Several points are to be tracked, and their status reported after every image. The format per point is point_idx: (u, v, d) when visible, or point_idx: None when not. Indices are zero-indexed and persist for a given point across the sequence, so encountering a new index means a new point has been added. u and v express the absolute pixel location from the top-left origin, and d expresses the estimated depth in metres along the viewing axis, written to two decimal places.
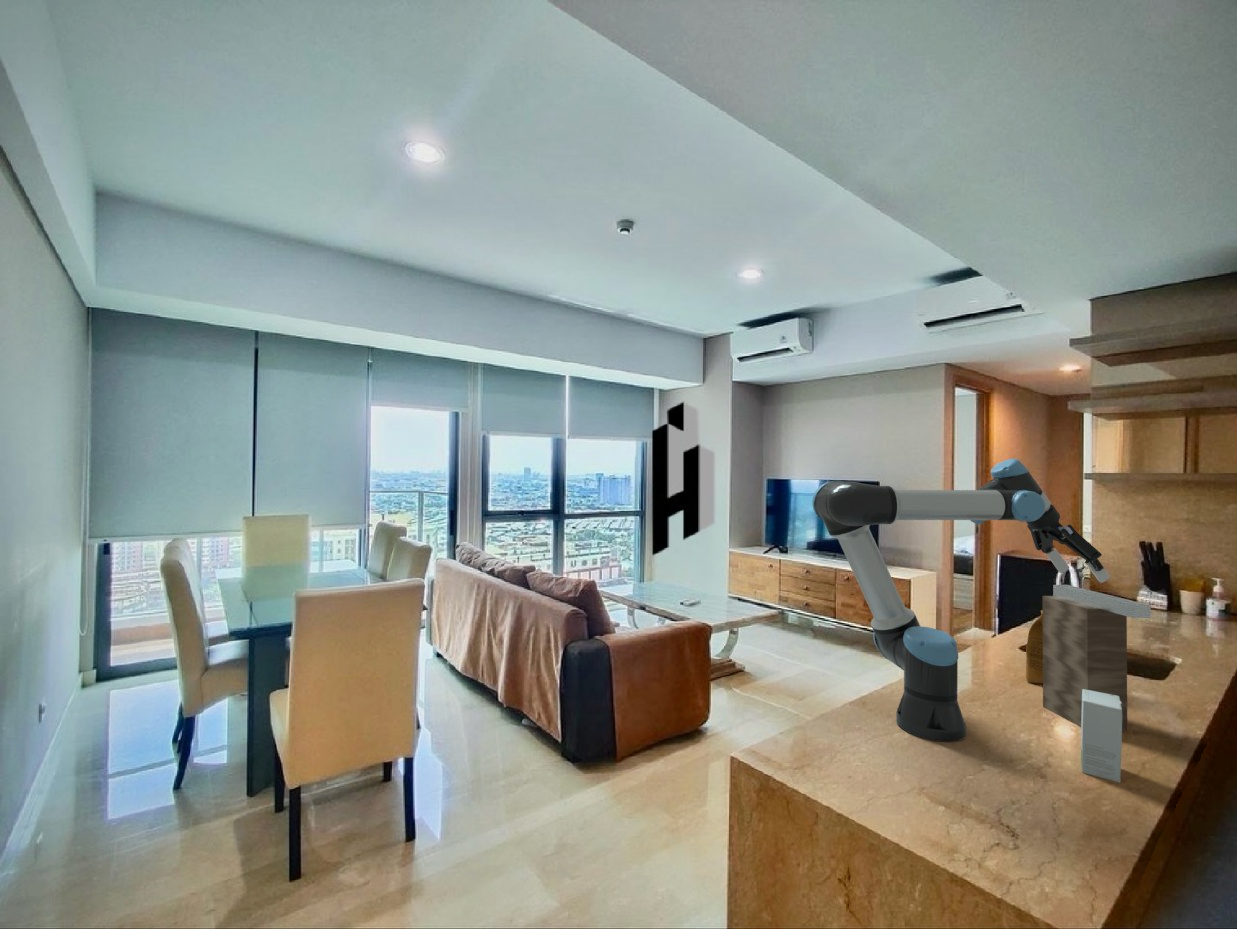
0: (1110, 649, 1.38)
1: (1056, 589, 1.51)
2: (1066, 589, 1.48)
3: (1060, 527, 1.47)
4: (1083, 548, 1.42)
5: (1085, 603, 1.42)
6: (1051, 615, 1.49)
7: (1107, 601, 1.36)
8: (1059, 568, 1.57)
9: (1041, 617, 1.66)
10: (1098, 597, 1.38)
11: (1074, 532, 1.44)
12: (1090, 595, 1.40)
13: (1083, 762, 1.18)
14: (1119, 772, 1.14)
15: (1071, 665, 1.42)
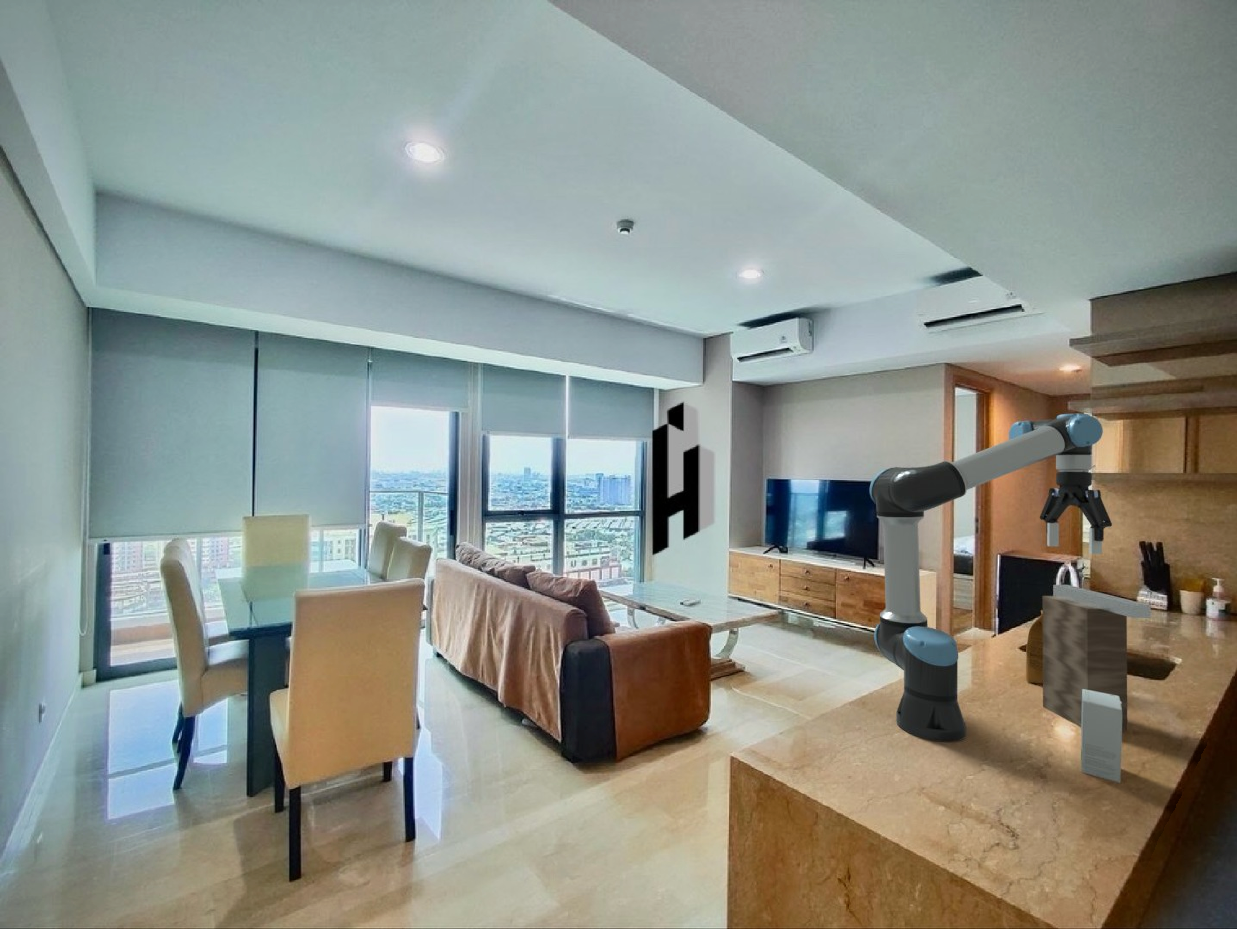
0: (1110, 649, 1.38)
1: (1056, 589, 1.51)
2: (1066, 589, 1.48)
3: (1087, 490, 1.47)
4: (1099, 512, 1.42)
5: (1085, 603, 1.42)
6: (1051, 615, 1.49)
7: (1107, 601, 1.36)
8: (1050, 541, 1.57)
9: (1041, 617, 1.66)
10: (1098, 597, 1.38)
11: (1099, 497, 1.44)
12: (1090, 595, 1.40)
13: (1083, 762, 1.18)
14: (1119, 772, 1.14)
15: (1071, 665, 1.42)
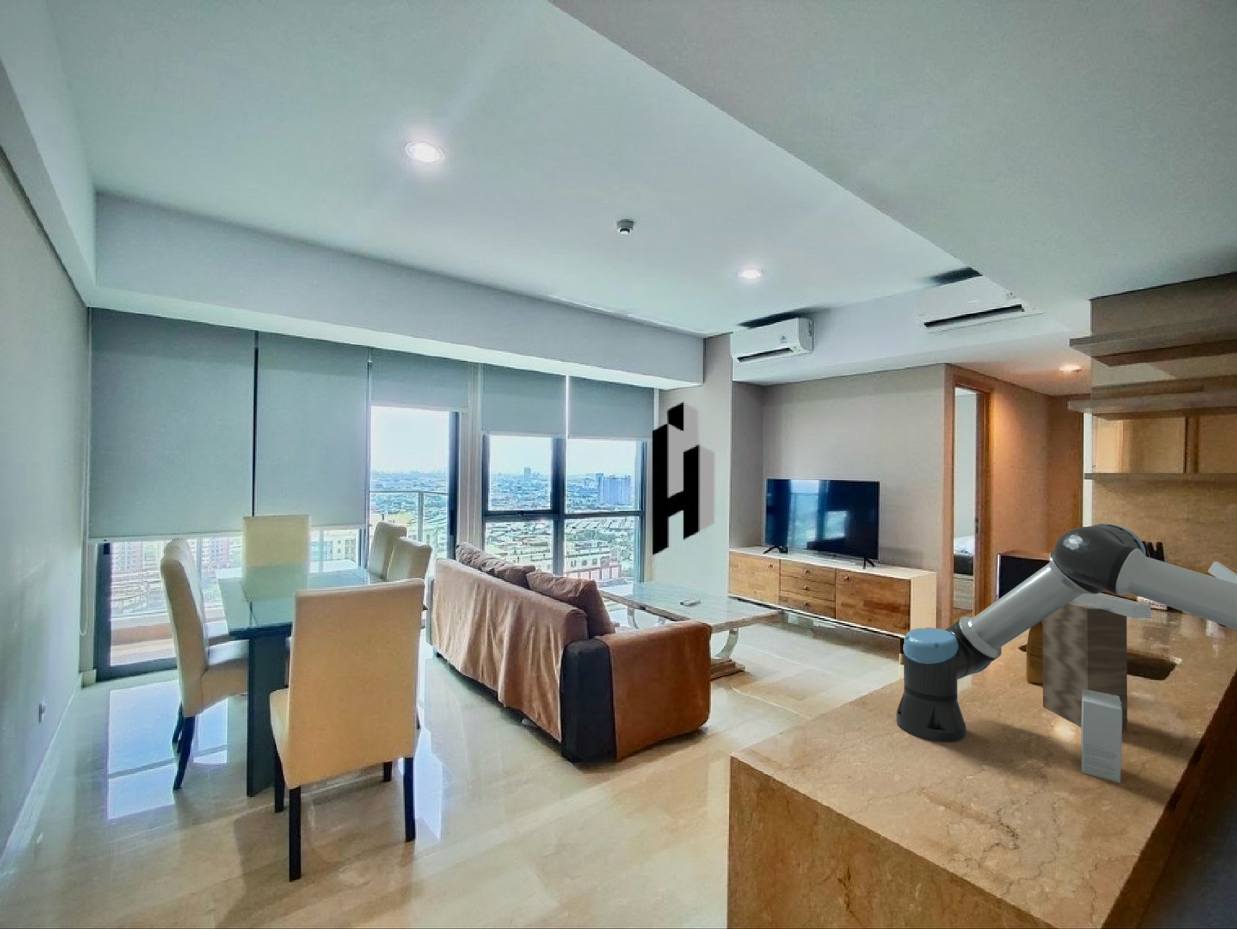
0: (1110, 649, 1.38)
1: None
2: None
3: None
4: None
5: (1085, 603, 1.42)
6: (1051, 615, 1.49)
7: (1107, 601, 1.36)
8: (1219, 567, 1.19)
9: None
10: (1098, 597, 1.38)
11: None
12: (1090, 595, 1.40)
13: (1083, 762, 1.18)
14: (1119, 772, 1.14)
15: (1071, 665, 1.42)
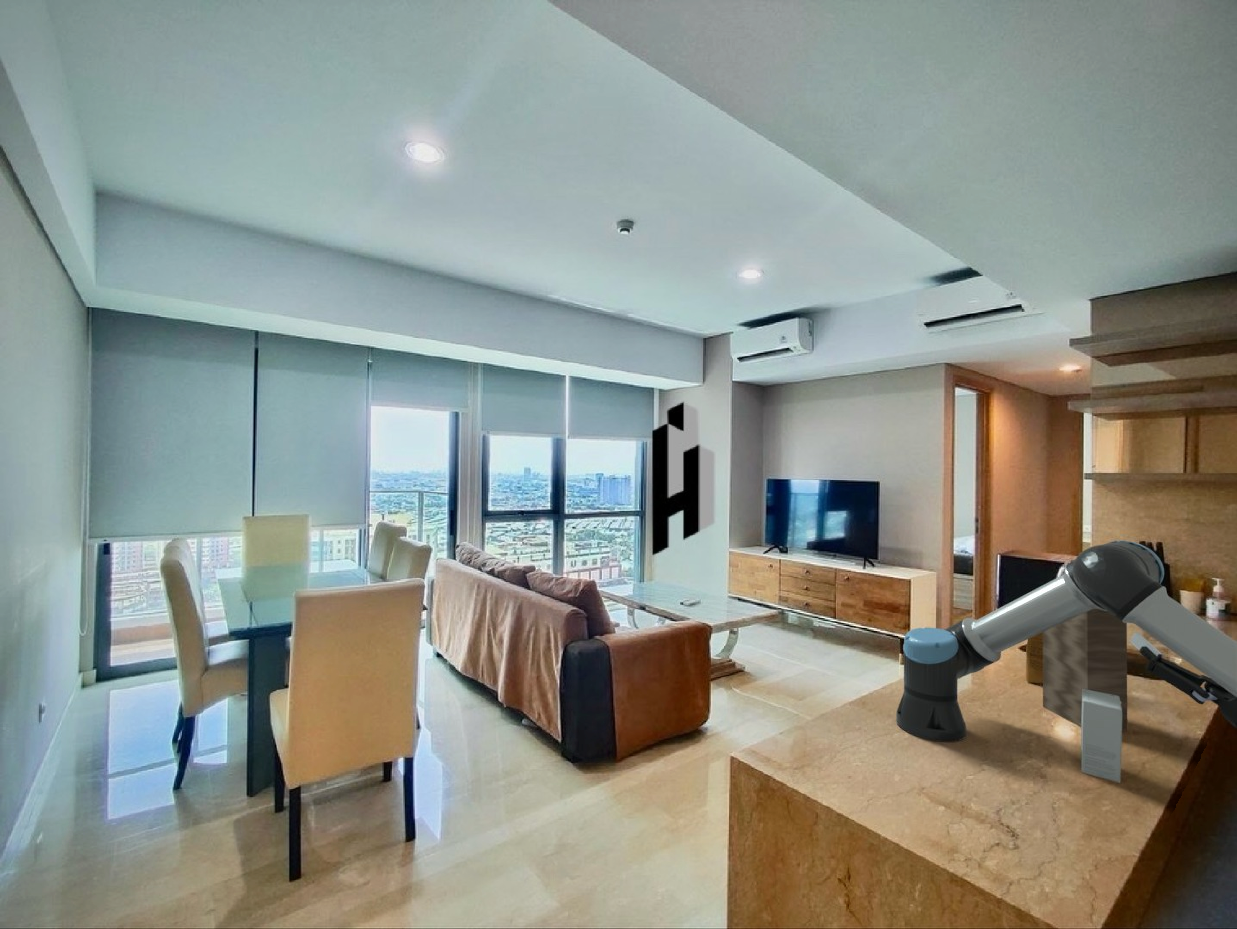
0: (1110, 649, 1.38)
1: None
2: None
3: (1213, 698, 1.10)
4: (1169, 673, 1.14)
5: None
6: None
7: None
8: None
9: None
10: None
11: (1190, 693, 1.12)
12: None
13: (1083, 762, 1.18)
14: (1119, 772, 1.14)
15: (1071, 665, 1.42)
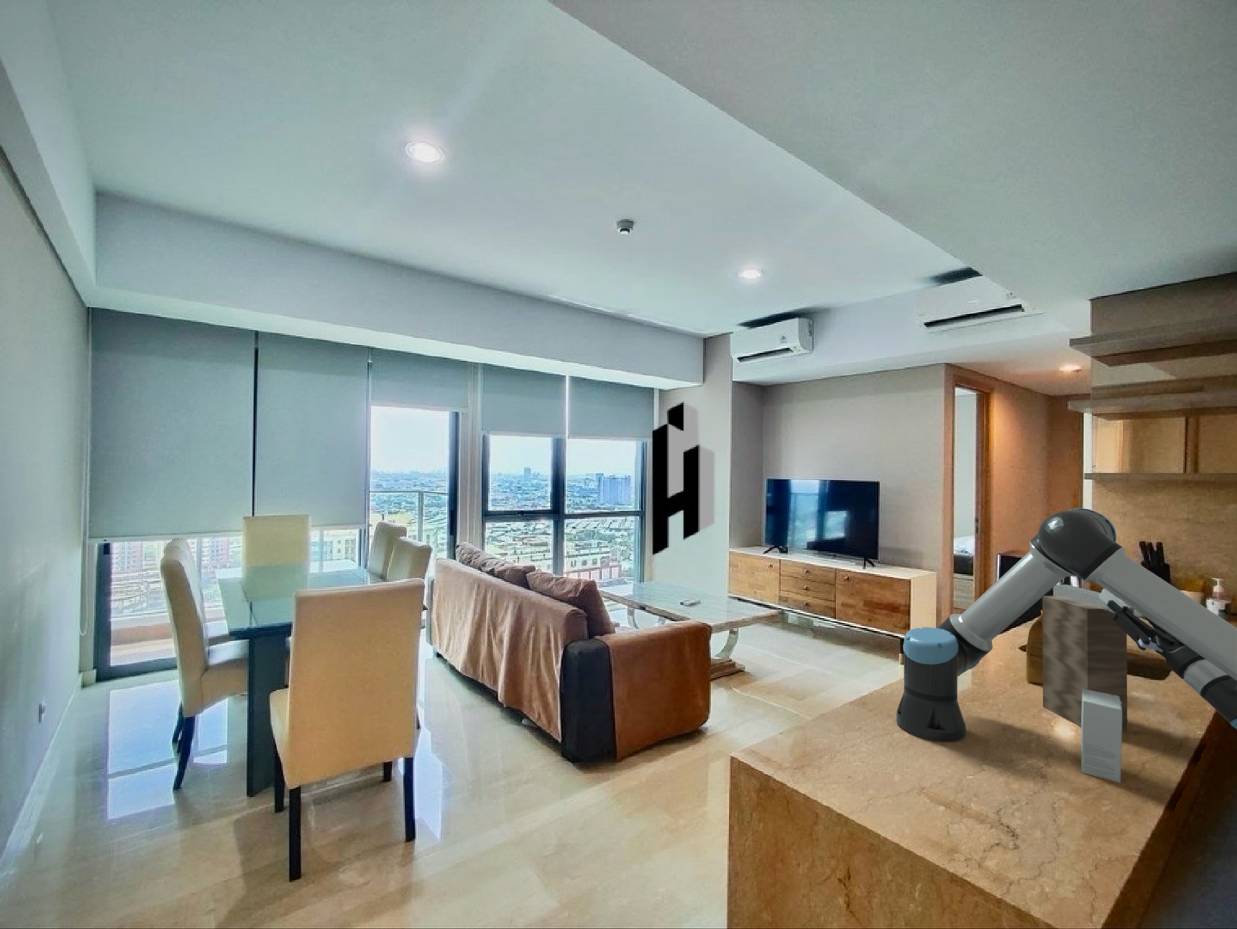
0: (1110, 649, 1.38)
1: (1056, 589, 1.51)
2: (1066, 589, 1.48)
3: (1156, 648, 1.21)
4: (1126, 622, 1.27)
5: (1085, 603, 1.42)
6: (1051, 615, 1.49)
7: None
8: None
9: (1041, 617, 1.66)
10: (1098, 597, 1.38)
11: (1136, 641, 1.24)
12: (1090, 595, 1.40)
13: (1083, 762, 1.18)
14: (1119, 772, 1.14)
15: (1071, 665, 1.42)
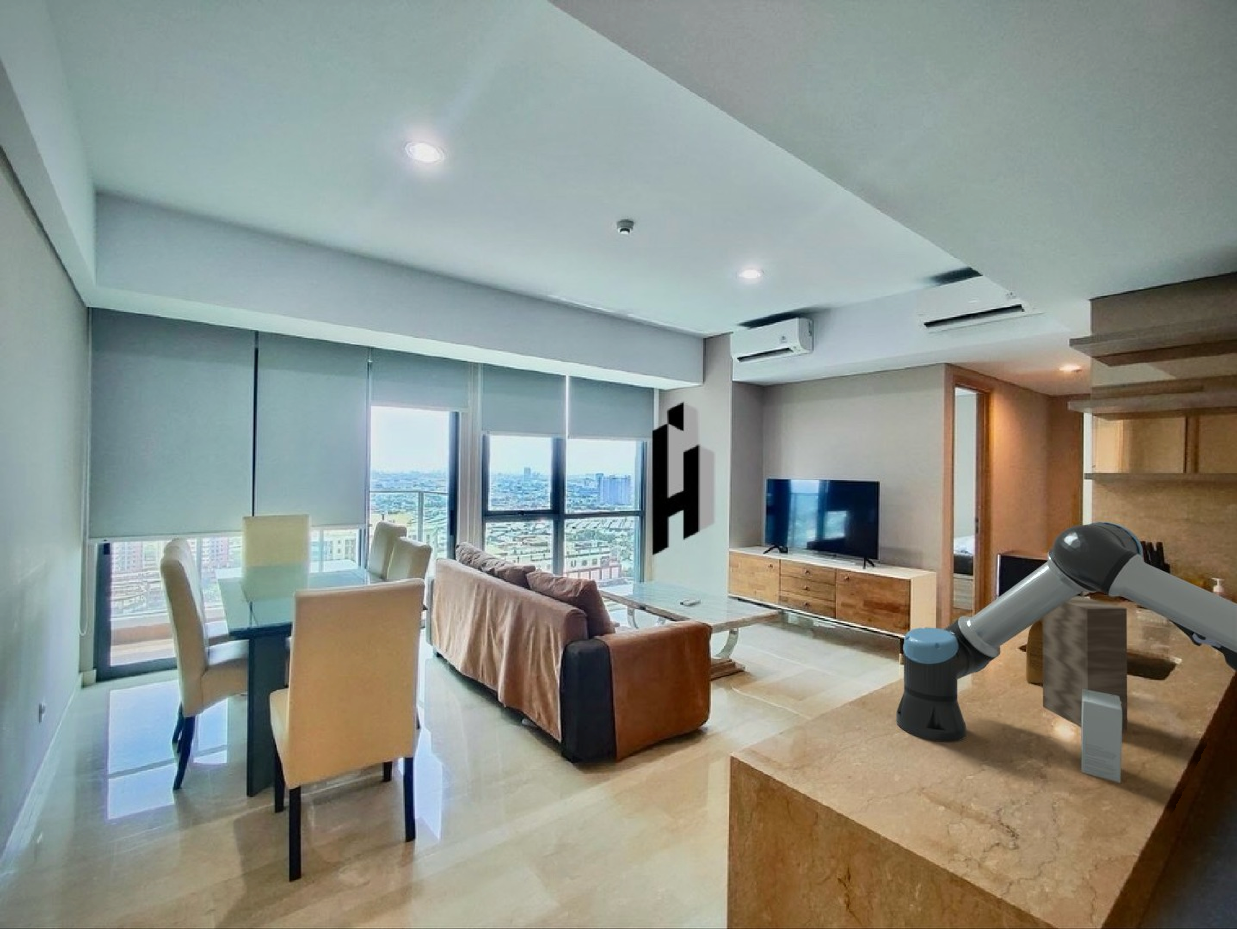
0: (1110, 649, 1.38)
1: None
2: None
3: (1213, 644, 1.10)
4: None
5: None
6: (1051, 615, 1.49)
7: None
8: None
9: None
10: None
11: (1190, 635, 1.13)
12: None
13: (1083, 762, 1.18)
14: (1119, 772, 1.14)
15: (1071, 665, 1.42)
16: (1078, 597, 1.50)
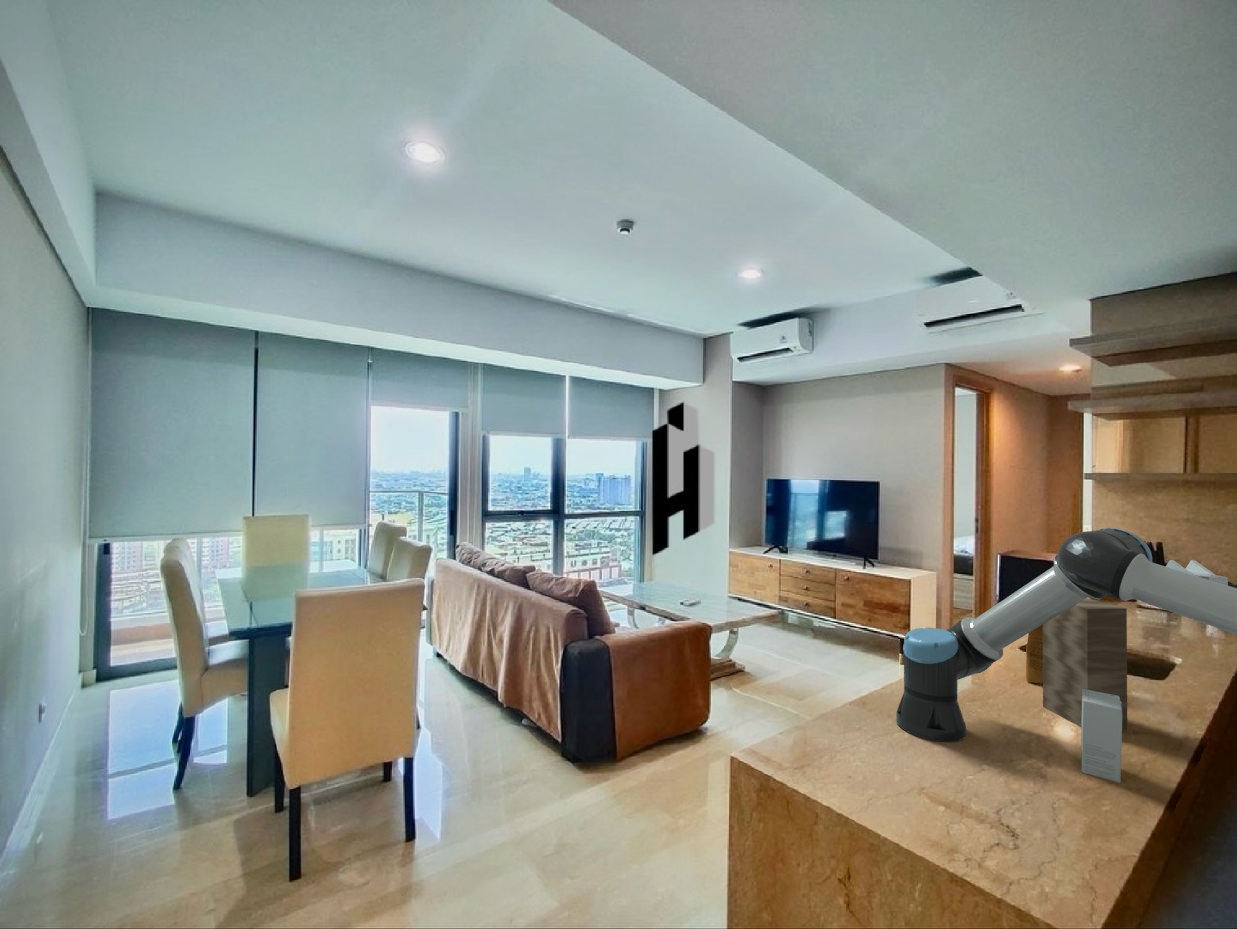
0: (1110, 649, 1.38)
1: None
2: None
3: None
4: None
5: None
6: None
7: None
8: (1196, 565, 1.19)
9: None
10: None
11: None
12: None
13: (1083, 762, 1.18)
14: (1119, 772, 1.14)
15: (1071, 665, 1.42)
16: None
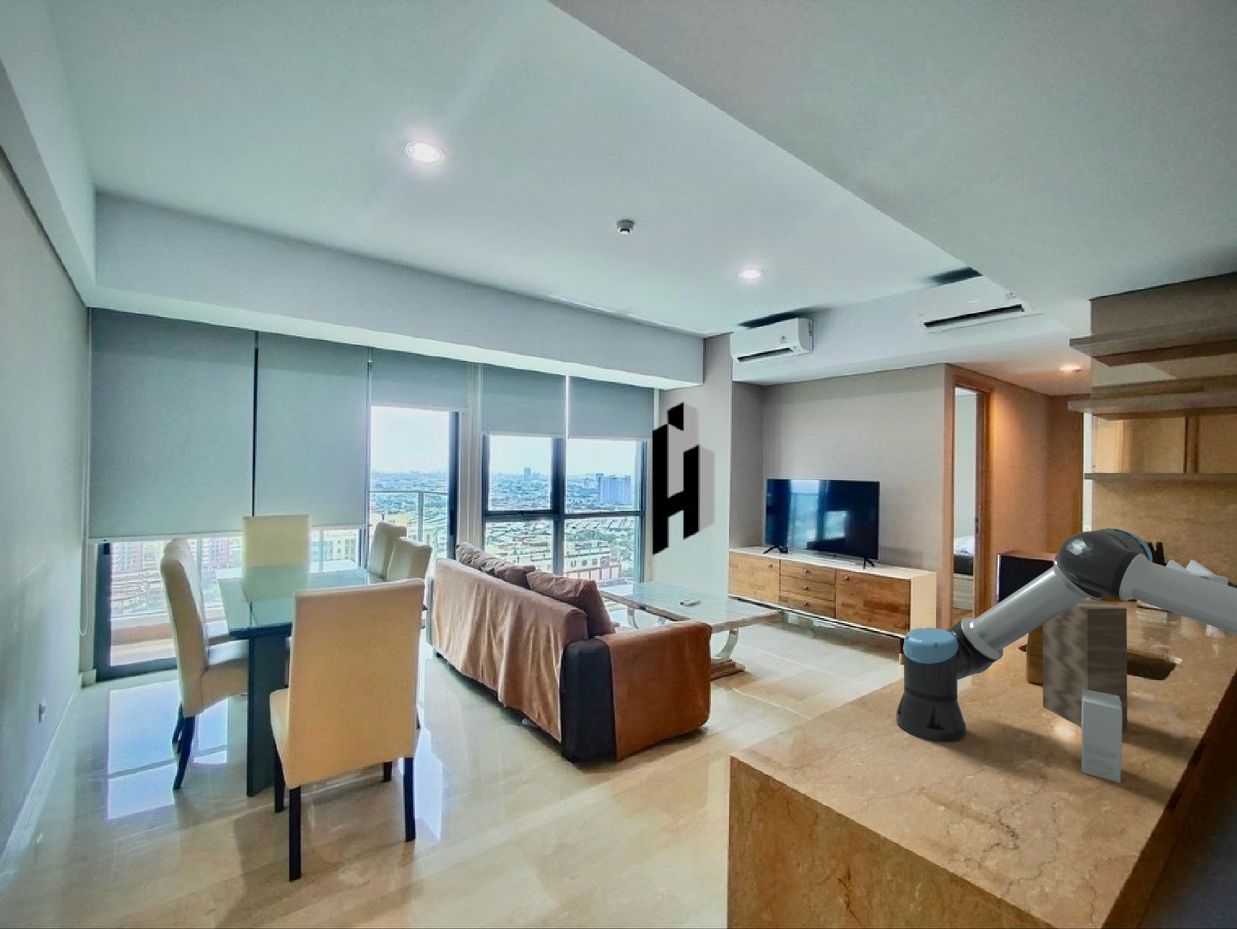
0: (1110, 649, 1.38)
1: None
2: None
3: None
4: None
5: None
6: None
7: None
8: (1196, 565, 1.19)
9: None
10: None
11: None
12: None
13: (1083, 762, 1.18)
14: (1119, 772, 1.14)
15: (1071, 665, 1.42)
16: None
